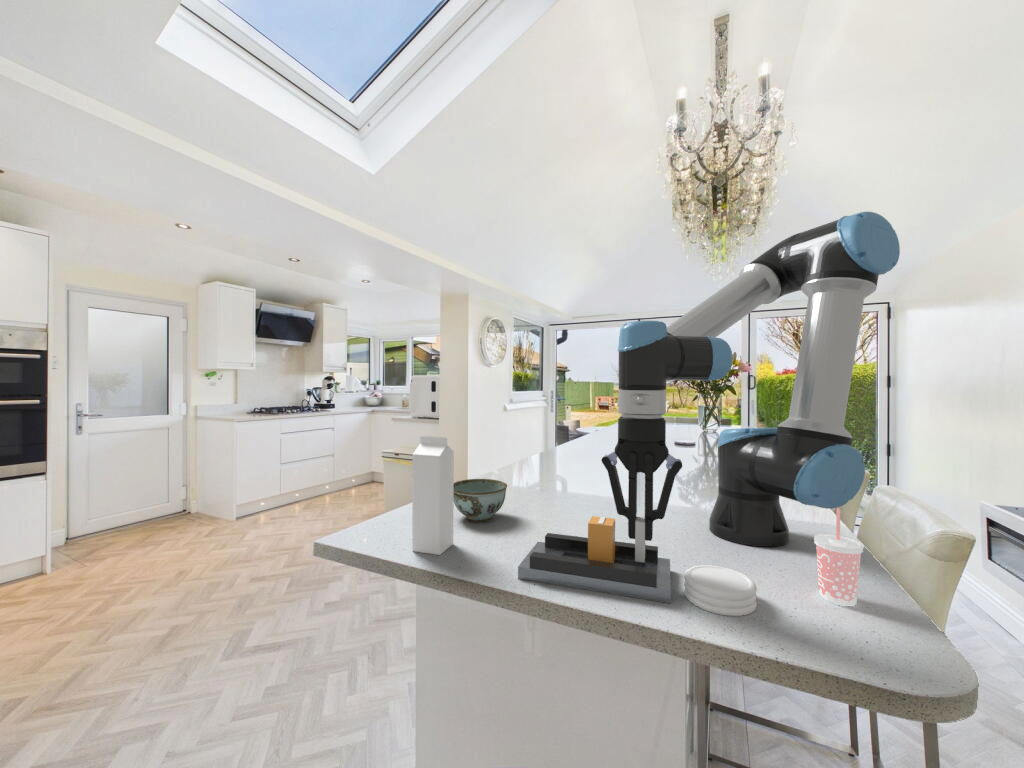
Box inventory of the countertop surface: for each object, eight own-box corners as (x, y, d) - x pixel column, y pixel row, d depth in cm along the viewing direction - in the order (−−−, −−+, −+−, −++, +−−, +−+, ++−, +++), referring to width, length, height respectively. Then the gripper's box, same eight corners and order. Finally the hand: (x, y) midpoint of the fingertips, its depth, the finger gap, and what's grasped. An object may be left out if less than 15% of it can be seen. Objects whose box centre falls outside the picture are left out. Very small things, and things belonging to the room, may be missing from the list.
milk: (427, 541, 90) (427, 434, 90) (454, 544, 88) (454, 435, 88) (411, 551, 85) (411, 437, 84) (439, 555, 83) (440, 438, 83)
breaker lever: (614, 558, 76) (615, 517, 76) (612, 568, 72) (612, 525, 72) (591, 555, 77) (591, 515, 77) (587, 564, 73) (588, 522, 73)
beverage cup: (808, 586, 71) (809, 500, 71) (855, 594, 68) (856, 504, 68) (818, 604, 65) (819, 511, 65) (869, 613, 63) (870, 516, 63)
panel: (669, 570, 77) (670, 547, 77) (670, 603, 65) (670, 576, 65) (537, 551, 85) (537, 531, 85) (517, 578, 73) (518, 554, 73)
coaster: (765, 600, 67) (765, 578, 67) (743, 626, 60) (743, 601, 60) (699, 579, 74) (699, 558, 74) (672, 600, 67) (672, 577, 67)
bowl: (483, 506, 115) (483, 476, 115) (518, 518, 105) (518, 485, 105) (439, 517, 105) (439, 484, 105) (473, 532, 96) (473, 495, 95)
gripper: (598, 416, 71) (597, 561, 71) (685, 419, 67) (683, 574, 67) (604, 413, 78) (603, 545, 78) (683, 415, 74) (681, 555, 74)
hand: (640, 558), depth 72 cm, fingers closed
